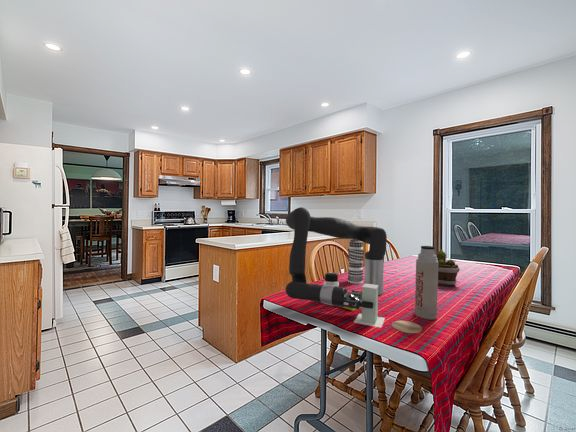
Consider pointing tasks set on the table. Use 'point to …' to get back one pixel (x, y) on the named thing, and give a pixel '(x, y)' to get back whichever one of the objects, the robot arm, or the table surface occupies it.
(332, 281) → the medicine bottle
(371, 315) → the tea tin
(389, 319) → the table surface
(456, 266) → the flowerpot
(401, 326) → the cork coaster
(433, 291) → the thermos bottle
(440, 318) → the table surface
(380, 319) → the tile
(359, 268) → the decorative candle
